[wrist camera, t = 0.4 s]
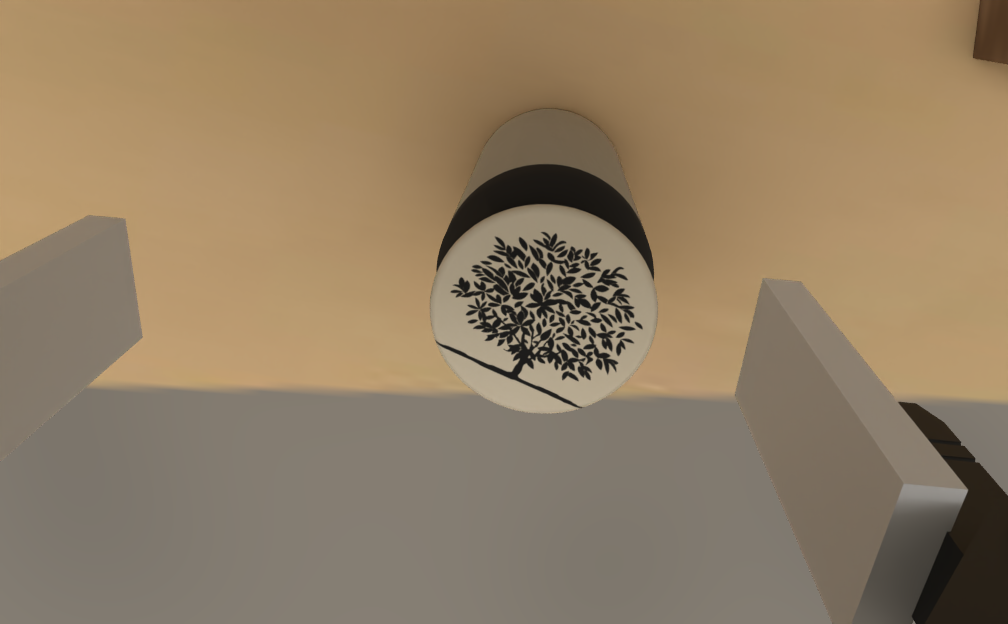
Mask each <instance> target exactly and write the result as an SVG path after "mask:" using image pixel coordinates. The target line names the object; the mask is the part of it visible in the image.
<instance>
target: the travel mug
mask: <svg viewBox="0 0 1008 624" xmlns="http://www.w3.org/2000/svg"><path fill="white" fill-rule="evenodd" d="M657 317H658V301H657V294H656V289H655V285H654V267H653V259H652V254H651V250H650V247H649V243H648V240H647V238H646V235H645V232H644V229H643V226H642V223H641V221H640V218H639V215H638V212H637V209H636V206H635V204H634V201H633V198H632V195H631V192H630V189H629V187H628V184H627V181H626V178H625V175H624V172H623V170H622V167H621V164H620V161H619V158H618V156H617V153H616V151H615V149H614V147H613V145H612V143H611V142H610V140H609V139H608V137H607V136H606V135H605V134H604V133H603V131H601V130H600V129H599V128H598V127H597V126H596V125H595V124H593V123H592V122H591V121H589V120H588V119H586V118H584V117H582V116H580V115H578V114H575V113H573V112H569V111H565V110H559V109H539V110H533V111H529V112H526V113H523V114H520V115H518V116H516V117H514V118H512V119H511V120H509V121H507V122H506V123H505V124H503V125H502V126H501V127H500V128H499V129H498V130H497V131H496V132H495V133H494V134H493V135H492V136H491V137H490V139H489V140H488V142H487V143H486V145H485V146H484V148H483V150H482V153H481V155H480V157H479V159H478V161H477V164H476V166H475V168H474V171H473V173H472V175H471V177H470V180H469V182H468V184H467V186H466V189H465V191H464V193H463V196H462V198H461V200H460V202H459V205H458V207H457V209H456V211H455V214H454V216H453V218H452V220H451V223H450V225H449V227H448V230H447V232H446V234H445V236H444V239H443V241H442V244H441V247H440V251H439V255H438V261H437V273H436V276H435V279H434V282H433V286H432V291H431V297H430V319H431V326H432V330H433V334H434V338H435V341H436V343H437V346H438V348H439V350H440V352H441V354H442V356H443V358H444V359H445V361H446V363H447V364H448V366H449V367H450V368H451V370H452V371H453V372H454V373H455V374H456V376H457V377H458V378H459V379H460V380H461V381H462V382H463V383H465V384H466V385H467V386H468V387H469V388H470V389H472V390H473V391H475V392H476V393H477V394H479V395H481V396H482V397H484V398H486V399H488V400H490V401H492V402H494V403H496V404H498V405H501V406H503V407H507V408H510V409H513V410H517V411H522V412H529V413H543V414H547V413H560V412H567V411H572V410H576V409H579V408H582V407H585V406H588V405H591V404H593V403H596V402H598V401H600V400H601V399H603V398H605V397H607V396H608V395H610V394H612V393H613V392H615V391H616V390H617V389H618V388H620V387H621V386H622V385H623V384H624V383H625V382H626V381H627V380H629V379H630V378H631V376H632V375H633V374H634V373H635V372H636V371H637V369H638V368H639V366H640V365H641V364H642V362H643V360H644V359H645V357H646V355H647V353H648V351H649V349H650V346H651V344H652V341H653V338H654V335H655V331H656V326H657Z"/></svg>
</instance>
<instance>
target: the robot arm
mask: <svg viewBox="0 0 1008 624" xmlns="http://www.w3.org/2000/svg"><path fill="white" fill-rule="evenodd" d="M141 338H142V330H141V323H140V316H139V310H138V303H137V296H136V289H135V282H134V275H133V268H132V261H131V255H130V248H129V241H128V234H127V227H126V220H125V219H124V218H113V217H103V216H92V215H88V216H86V217H85V218H83V219H81V220H79V221H77V222H75V223H73V224H71V225H69V226H67V227H65V228H63V229H61V230H59V231H57V232H55V233H53V234H51V235H49V236H47V237H45V238H44V239H42V240H40V241H38V242H36V243H34V244H32V245H30V246H28V247H26V248H24V249H22V250H20V251H18V252H16V253H14V254H12V255H10V256H8V257H6V258H4V259H3V260H1V261H0V462H1V461H2V460H3V459H4V458H5V457H6V456H8V455H9V454H10V453H11V452H12V451H13V450H14V449H16V448H17V447H18V446H19V445H20V444H21V443H22V442H24V441H25V440H26V439H27V438H28V437H29V436H30V435H32V434H33V433H34V432H35V431H36V430H37V429H38V428H40V427H41V426H42V425H43V424H44V423H45V422H46V421H48V420H49V419H50V418H51V417H52V416H53V415H54V414H56V413H57V412H58V411H59V410H60V409H61V408H62V407H64V406H65V405H66V404H67V403H68V402H69V401H70V400H72V399H73V398H74V397H75V396H76V395H77V394H78V393H80V391H82V390H83V389H84V388H85V387H86V386H88V385H89V384H90V383H91V382H92V381H93V380H94V379H96V378H97V377H98V376H99V375H100V374H101V373H102V372H104V371H105V370H106V369H107V368H108V367H109V366H110V365H112V364H113V363H114V362H115V361H116V360H117V359H118V358H120V357H121V356H122V355H123V354H124V353H125V352H126V351H128V350H129V349H130V348H131V347H132V346H133V345H134V344H136V343H137V342H138V341H139V340H140V339H141ZM735 397H736V399H737V402H738V404H739V406H740V409H741V411H742V413H743V415H744V418H745V420H746V422H747V425H748V427H749V430H750V432H751V434H752V437H753V439H754V441H755V444H756V446H757V448H758V451H759V453H760V455H761V458H762V460H763V462H764V465H765V467H766V469H767V472H768V474H769V476H770V479H771V481H772V483H773V486H774V488H775V490H776V493H777V495H778V497H779V500H780V502H781V505H782V507H783V509H784V511H785V514H786V516H787V519H788V521H789V523H790V526H791V528H792V530H793V532H794V535H795V537H796V540H797V542H798V544H799V547H800V549H801V551H802V554H803V556H804V558H805V561H806V563H807V565H808V568H809V570H810V572H811V574H812V577H813V579H814V582H815V584H816V586H817V589H818V591H819V593H820V596H821V598H822V600H823V603H824V605H825V607H826V610H827V612H828V614H829V617H830V619H831V621H832V624H912V623H913V620H914V621H915V623H916V624H1008V496H1007V494H1005V492H1004V491H1003V490H1002V489H1001V488H1000V487H999V485H998V484H997V483H996V482H995V481H994V479H993V478H992V477H991V476H990V475H989V474H988V473H987V471H986V470H985V469H984V468H983V467H982V466H981V465H980V463H976V462H975V458H974V456H973V455H972V454H971V453H970V452H969V451H968V450H967V448H966V447H965V446H961V441H960V440H959V439H958V438H957V437H956V436H955V435H954V433H953V432H952V431H951V430H950V429H949V428H948V427H947V425H946V424H945V423H944V422H943V421H941V420H940V419H938V418H937V417H935V416H934V415H932V414H930V413H929V412H928V411H926V410H925V409H923V408H922V407H920V406H919V405H917V404H915V403H905V402H897V401H896V399H895V398H894V397H893V396H892V394H891V393H890V392H889V391H888V389H887V388H886V387H885V386H884V384H883V383H882V382H881V381H880V379H879V378H878V377H877V376H876V374H875V373H874V372H873V371H872V369H871V368H870V367H869V366H868V364H867V363H866V362H865V361H864V359H863V358H862V357H861V356H860V354H859V353H858V352H857V351H856V349H855V348H854V347H853V346H852V344H851V343H850V342H849V341H848V340H847V338H846V337H845V336H844V335H843V333H842V332H841V331H840V330H839V328H838V327H837V326H836V325H835V323H834V322H833V321H832V320H831V318H830V317H829V316H828V315H827V313H826V312H825V311H824V310H823V308H822V307H821V306H820V305H819V303H818V302H817V301H816V300H815V298H814V297H813V296H812V295H811V293H810V292H809V291H808V290H807V288H806V287H805V286H804V285H803V283H802V282H799V281H788V280H778V279H767V278H763V280H762V284H761V288H760V292H759V297H758V301H757V305H756V309H755V313H754V317H753V322H752V326H751V330H750V334H749V338H748V342H747V347H746V351H745V355H744V359H743V363H742V367H741V371H740V376H739V380H738V384H737V388H736V392H735Z"/></svg>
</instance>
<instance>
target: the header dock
mask: <svg viewBox="0 0 1008 624" xmlns="http://www.w3.org/2000/svg"><path fill="white" fill-rule="evenodd" d="M973 58H975V59H981V60H986V61H992V62H997V63H1003V64H1008V0H980V8H979V16H978V24H977V32H976V40H975V48H974V55H973Z"/></svg>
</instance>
